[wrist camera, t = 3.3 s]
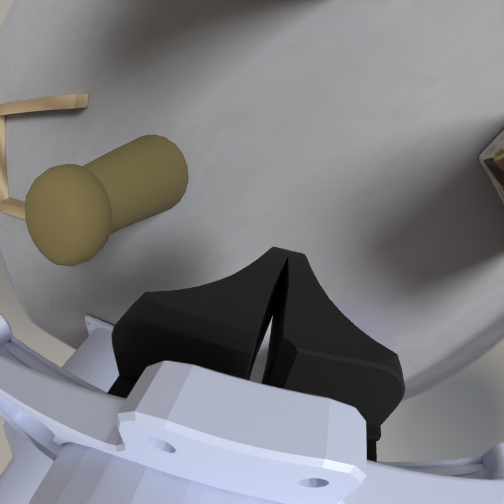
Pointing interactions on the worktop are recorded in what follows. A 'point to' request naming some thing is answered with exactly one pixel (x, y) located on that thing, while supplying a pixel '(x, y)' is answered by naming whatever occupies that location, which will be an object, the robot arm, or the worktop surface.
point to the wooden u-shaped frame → (3, 202)
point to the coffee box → (495, 163)
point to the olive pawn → (103, 197)
